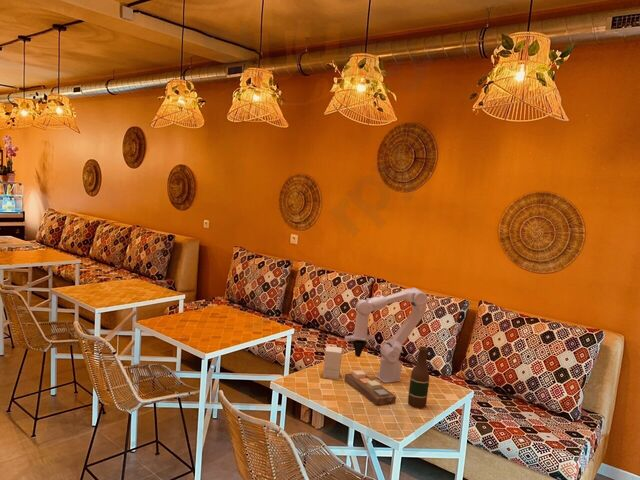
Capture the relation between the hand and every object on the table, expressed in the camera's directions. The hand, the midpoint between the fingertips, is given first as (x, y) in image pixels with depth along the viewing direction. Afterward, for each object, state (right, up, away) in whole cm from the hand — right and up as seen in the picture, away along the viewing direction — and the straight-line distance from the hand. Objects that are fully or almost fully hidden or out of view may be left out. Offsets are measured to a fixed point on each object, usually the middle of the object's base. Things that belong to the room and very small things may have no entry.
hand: (357, 356), depth 218 cm
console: (+4, -12, -12) cm, 18 cm away
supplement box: (-12, -10, +1) cm, 15 cm away
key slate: (+8, -12, -20) cm, 25 cm away
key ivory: (0, -8, -5) cm, 9 cm away
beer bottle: (+22, -15, -20) cm, 34 cm away
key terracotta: (+3, -10, -10) cm, 15 cm away
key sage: (+5, -10, -15) cm, 19 cm away
